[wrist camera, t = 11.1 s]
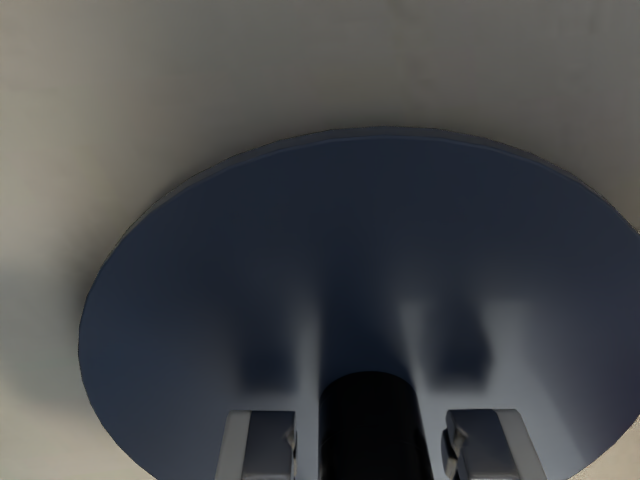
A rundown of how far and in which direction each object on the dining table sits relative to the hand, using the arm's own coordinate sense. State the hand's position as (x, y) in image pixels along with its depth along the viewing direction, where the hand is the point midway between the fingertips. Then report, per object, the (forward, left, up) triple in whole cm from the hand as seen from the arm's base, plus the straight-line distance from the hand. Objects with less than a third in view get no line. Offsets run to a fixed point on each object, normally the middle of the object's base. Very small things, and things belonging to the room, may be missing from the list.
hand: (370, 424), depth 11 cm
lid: (0, 0, -1) cm, 1 cm away
